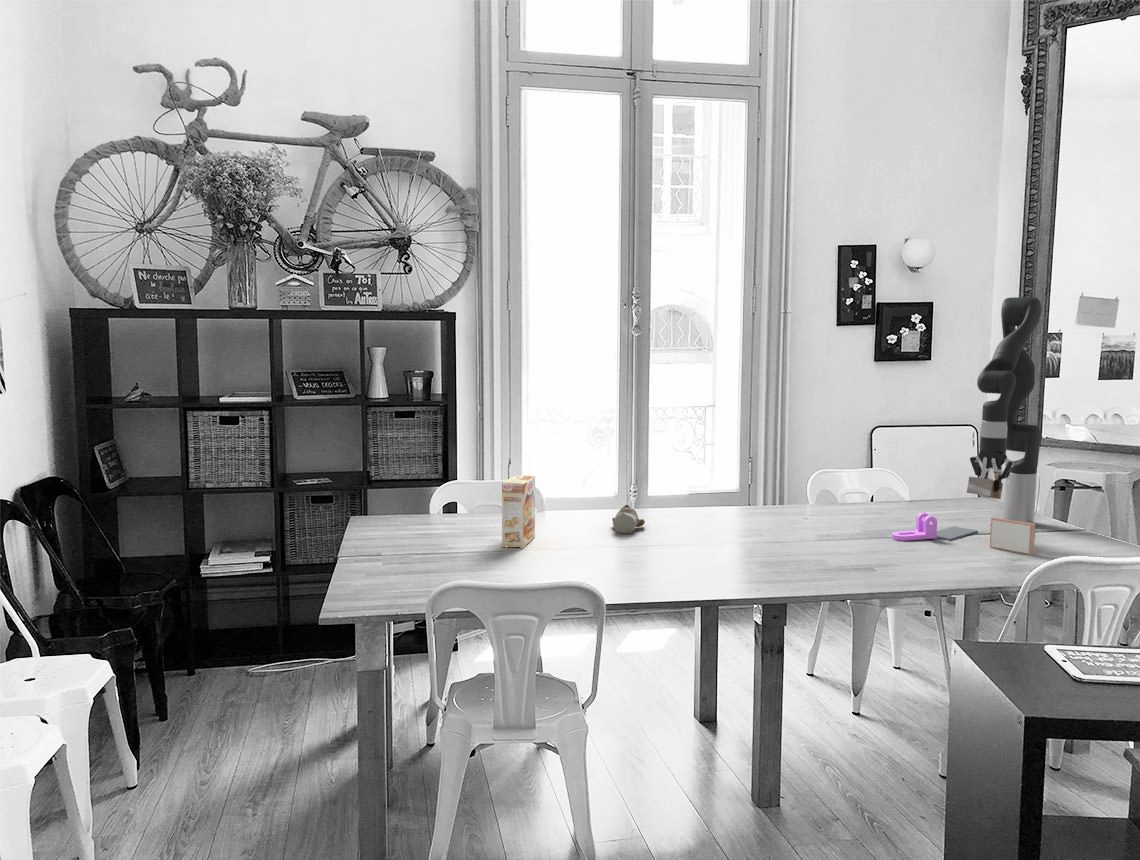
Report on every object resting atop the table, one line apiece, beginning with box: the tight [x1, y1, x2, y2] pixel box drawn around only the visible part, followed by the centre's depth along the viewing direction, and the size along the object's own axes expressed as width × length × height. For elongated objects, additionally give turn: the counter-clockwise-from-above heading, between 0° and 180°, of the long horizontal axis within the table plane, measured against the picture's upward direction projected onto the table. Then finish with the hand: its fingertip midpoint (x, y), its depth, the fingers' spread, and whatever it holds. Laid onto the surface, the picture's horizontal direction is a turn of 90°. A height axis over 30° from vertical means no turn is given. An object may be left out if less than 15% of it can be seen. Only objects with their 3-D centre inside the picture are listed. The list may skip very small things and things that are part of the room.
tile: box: [989, 516, 1036, 556], centre depth 275 cm, size 2×12×9 cm, turn 40°
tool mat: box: [936, 525, 979, 542], centre depth 297 cm, size 18×8×1 cm, turn 130°
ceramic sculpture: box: [612, 504, 646, 534], centre depth 302 cm, size 11×9×15 cm
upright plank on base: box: [966, 476, 1004, 500], centre depth 289 cm, size 12×7×5 cm, turn 130°
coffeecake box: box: [501, 474, 536, 549], centre depth 284 cm, size 15×7×20 cm, turn 168°
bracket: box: [891, 512, 938, 542], centre depth 291 cm, size 13×6×7 cm, turn 99°
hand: (990, 490), depth 290 cm, fingers closed on upright plank on base, 3 cm apart
